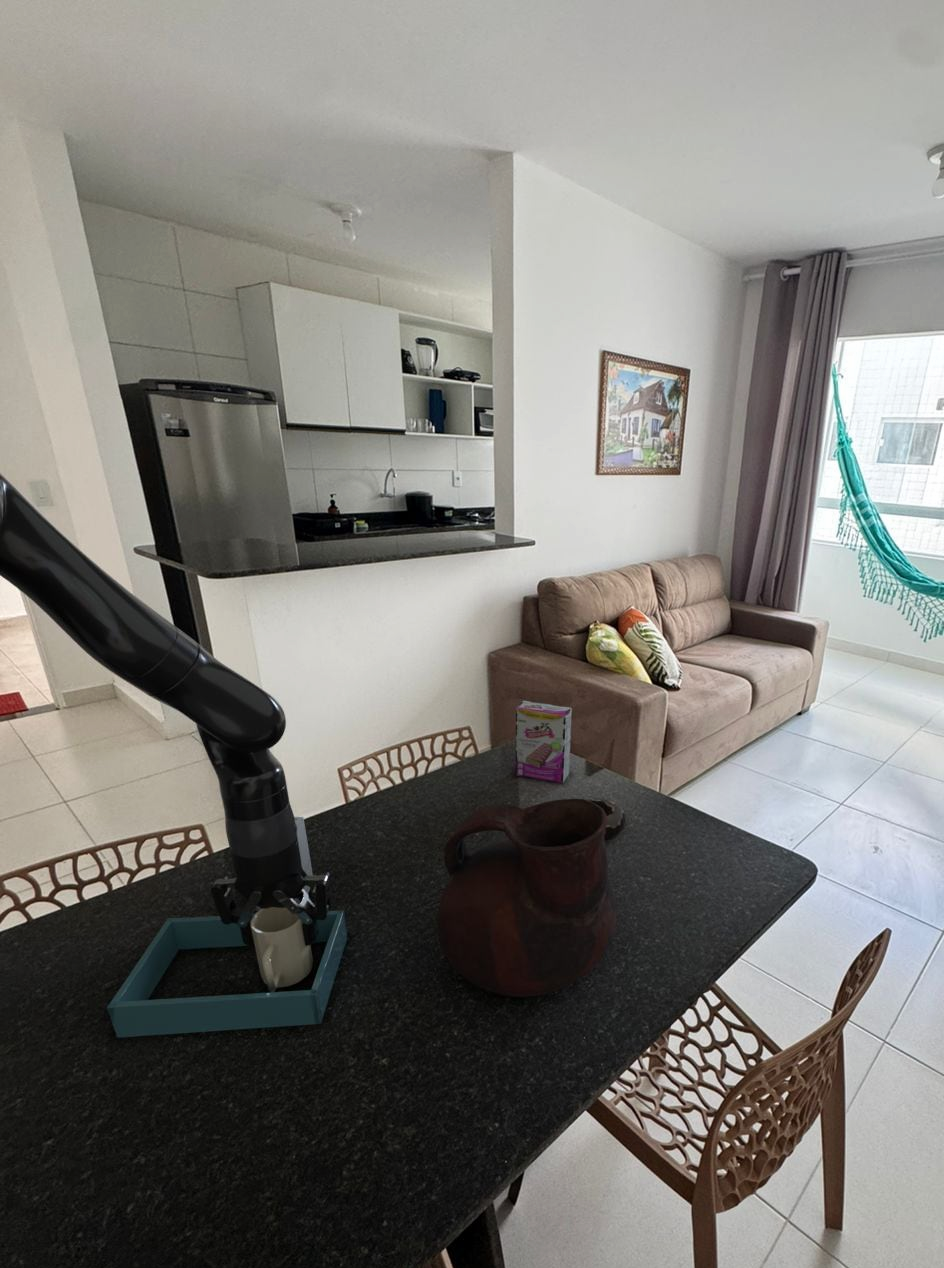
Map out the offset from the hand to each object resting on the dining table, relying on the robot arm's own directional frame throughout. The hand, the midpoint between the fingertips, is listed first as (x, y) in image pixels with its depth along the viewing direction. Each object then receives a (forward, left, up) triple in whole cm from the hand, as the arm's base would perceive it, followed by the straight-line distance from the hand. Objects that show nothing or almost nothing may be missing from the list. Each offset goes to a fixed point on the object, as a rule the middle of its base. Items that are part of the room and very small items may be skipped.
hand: (282, 942), depth 88 cm
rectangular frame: (-6, -1, -6) cm, 8 cm away
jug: (+32, +1, -6) cm, 33 cm away
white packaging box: (-6, +17, -6) cm, 19 cm away
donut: (+46, +34, -6) cm, 58 cm away
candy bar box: (+37, +55, -6) cm, 67 cm away
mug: (0, -1, -5) cm, 5 cm away
